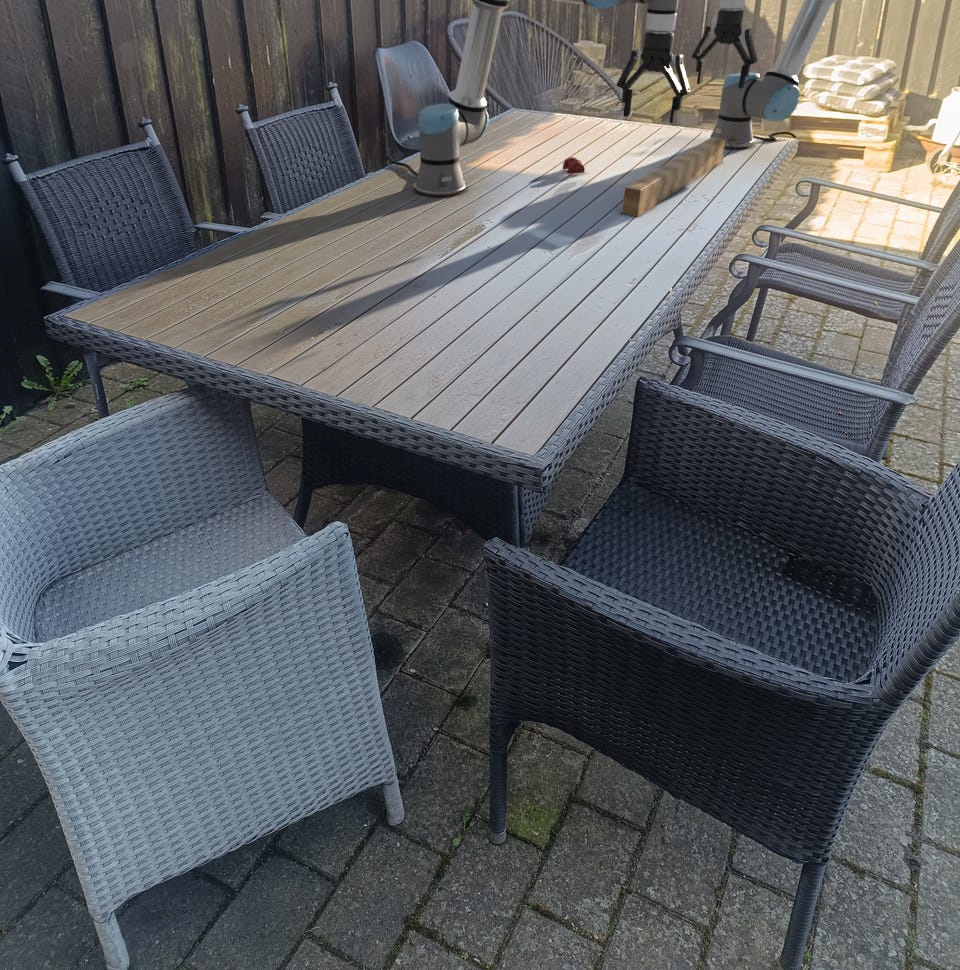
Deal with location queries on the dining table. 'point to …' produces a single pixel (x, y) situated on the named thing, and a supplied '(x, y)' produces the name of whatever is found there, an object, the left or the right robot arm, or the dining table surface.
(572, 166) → the dark red lumpy piece
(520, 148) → the dining table surface
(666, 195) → the bar
